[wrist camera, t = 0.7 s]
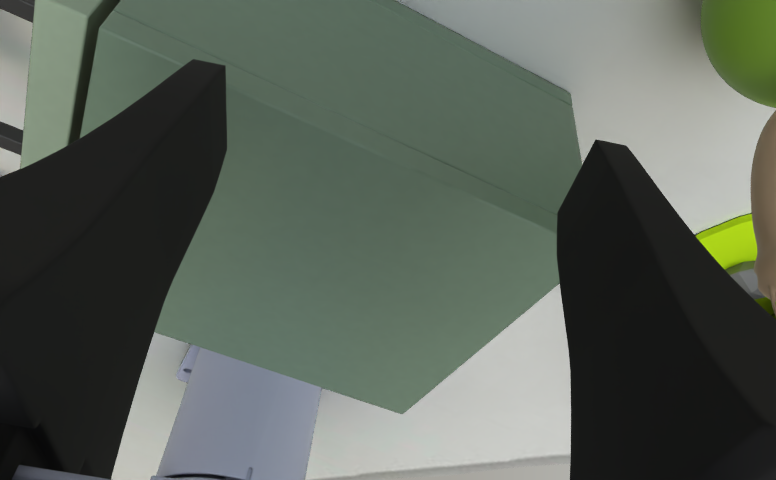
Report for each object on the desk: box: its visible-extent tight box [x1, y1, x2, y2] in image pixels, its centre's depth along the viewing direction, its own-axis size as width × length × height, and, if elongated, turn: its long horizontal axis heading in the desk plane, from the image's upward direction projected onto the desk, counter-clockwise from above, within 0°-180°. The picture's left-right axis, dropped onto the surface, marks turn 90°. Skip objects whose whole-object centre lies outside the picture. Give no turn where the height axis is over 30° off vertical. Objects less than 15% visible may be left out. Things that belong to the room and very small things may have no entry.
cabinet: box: [80, 0, 582, 414], centre depth 22 cm, size 14×12×8 cm
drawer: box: [0, 0, 120, 169], centre depth 21 cm, size 17×10×6 cm, turn 63°
